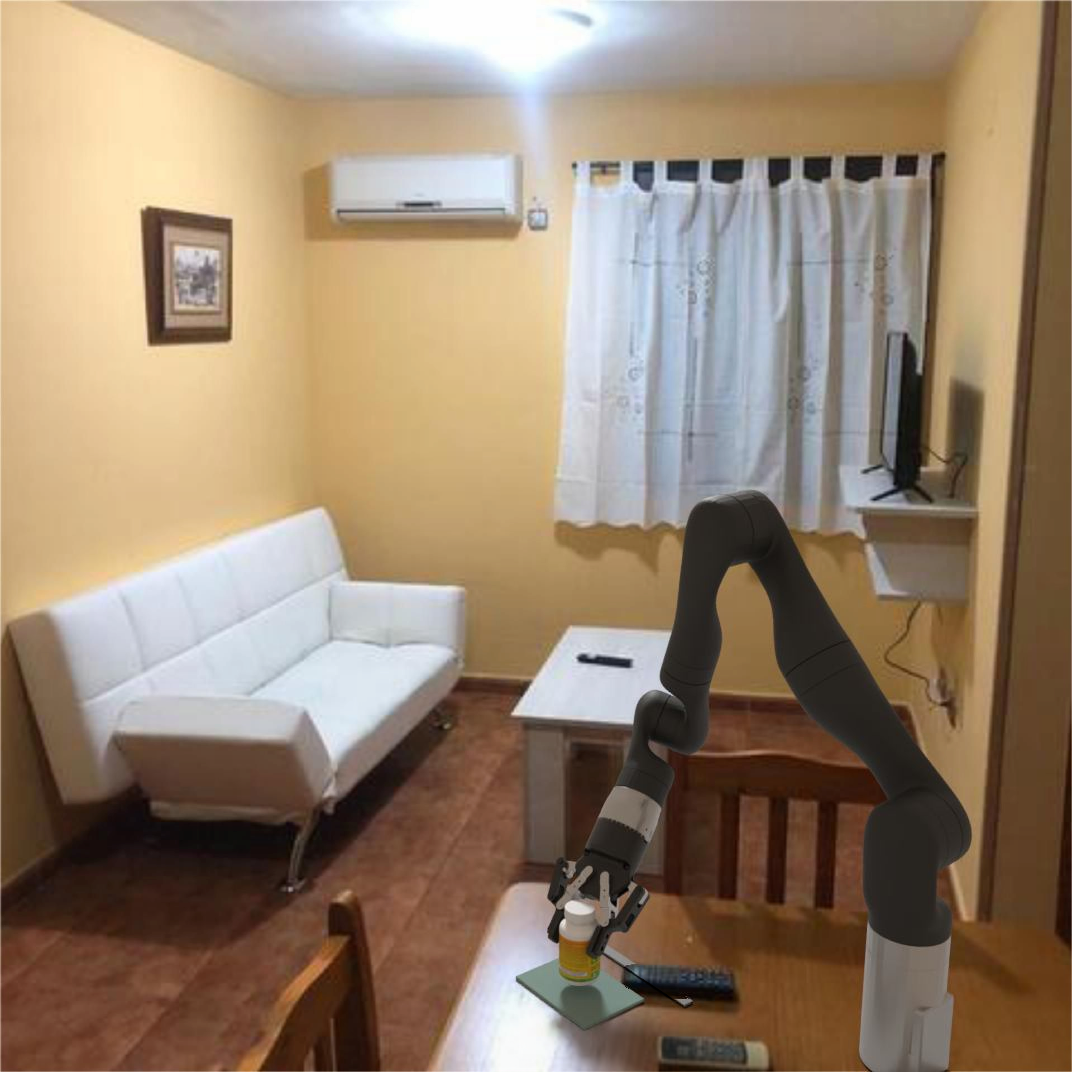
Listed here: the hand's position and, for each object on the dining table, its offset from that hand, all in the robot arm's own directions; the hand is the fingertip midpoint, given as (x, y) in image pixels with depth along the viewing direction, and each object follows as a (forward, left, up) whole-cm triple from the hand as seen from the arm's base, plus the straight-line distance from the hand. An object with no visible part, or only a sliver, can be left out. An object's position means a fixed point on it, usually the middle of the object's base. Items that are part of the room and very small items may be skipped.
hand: (571, 948), depth 148 cm
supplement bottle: (0, -2, -5) cm, 5 cm away
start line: (0, -11, -7) cm, 13 cm away
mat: (0, -2, -7) cm, 7 cm away
